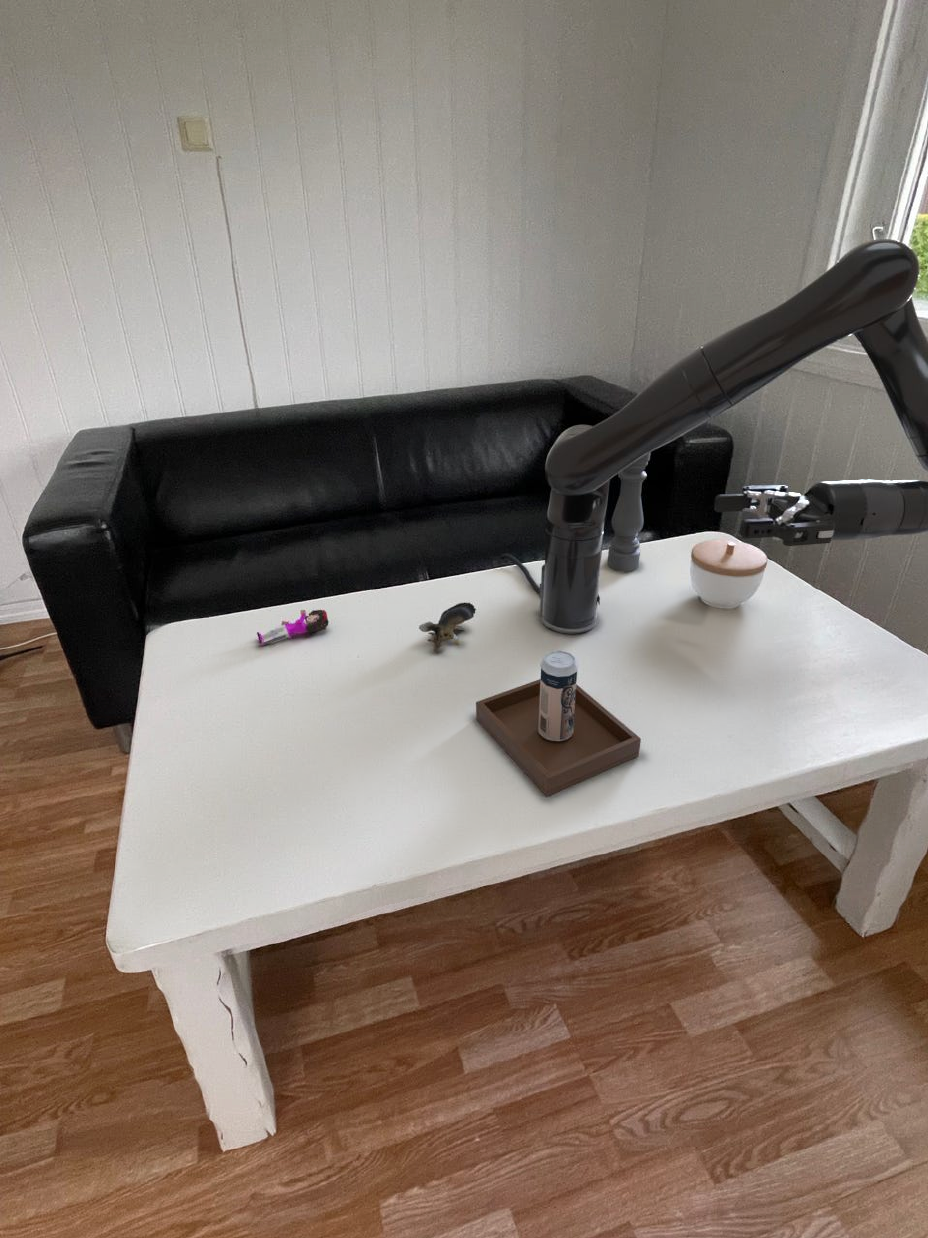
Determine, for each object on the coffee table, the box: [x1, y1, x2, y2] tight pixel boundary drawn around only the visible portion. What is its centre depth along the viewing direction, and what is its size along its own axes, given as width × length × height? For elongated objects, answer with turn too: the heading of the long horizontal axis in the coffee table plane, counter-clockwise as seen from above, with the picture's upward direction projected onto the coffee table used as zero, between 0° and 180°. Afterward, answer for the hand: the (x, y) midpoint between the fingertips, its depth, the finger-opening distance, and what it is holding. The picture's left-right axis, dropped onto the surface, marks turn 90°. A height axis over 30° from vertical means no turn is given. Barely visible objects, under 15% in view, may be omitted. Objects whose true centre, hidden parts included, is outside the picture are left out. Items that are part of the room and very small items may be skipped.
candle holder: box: [606, 451, 652, 573], centre depth 133 cm, size 6×6×25 cm
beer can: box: [538, 650, 579, 741], centre depth 92 cm, size 5×5×12 cm
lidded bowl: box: [689, 539, 768, 610], centre depth 124 cm, size 13×13×11 cm
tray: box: [475, 678, 642, 797], centre depth 94 cm, size 18×15×3 cm
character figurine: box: [256, 609, 330, 647], centre depth 118 cm, size 6×5×12 cm
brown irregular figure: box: [418, 601, 477, 653], centre depth 115 cm, size 8×7×9 cm
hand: (727, 515), depth 89 cm, fingers open, 8 cm apart
